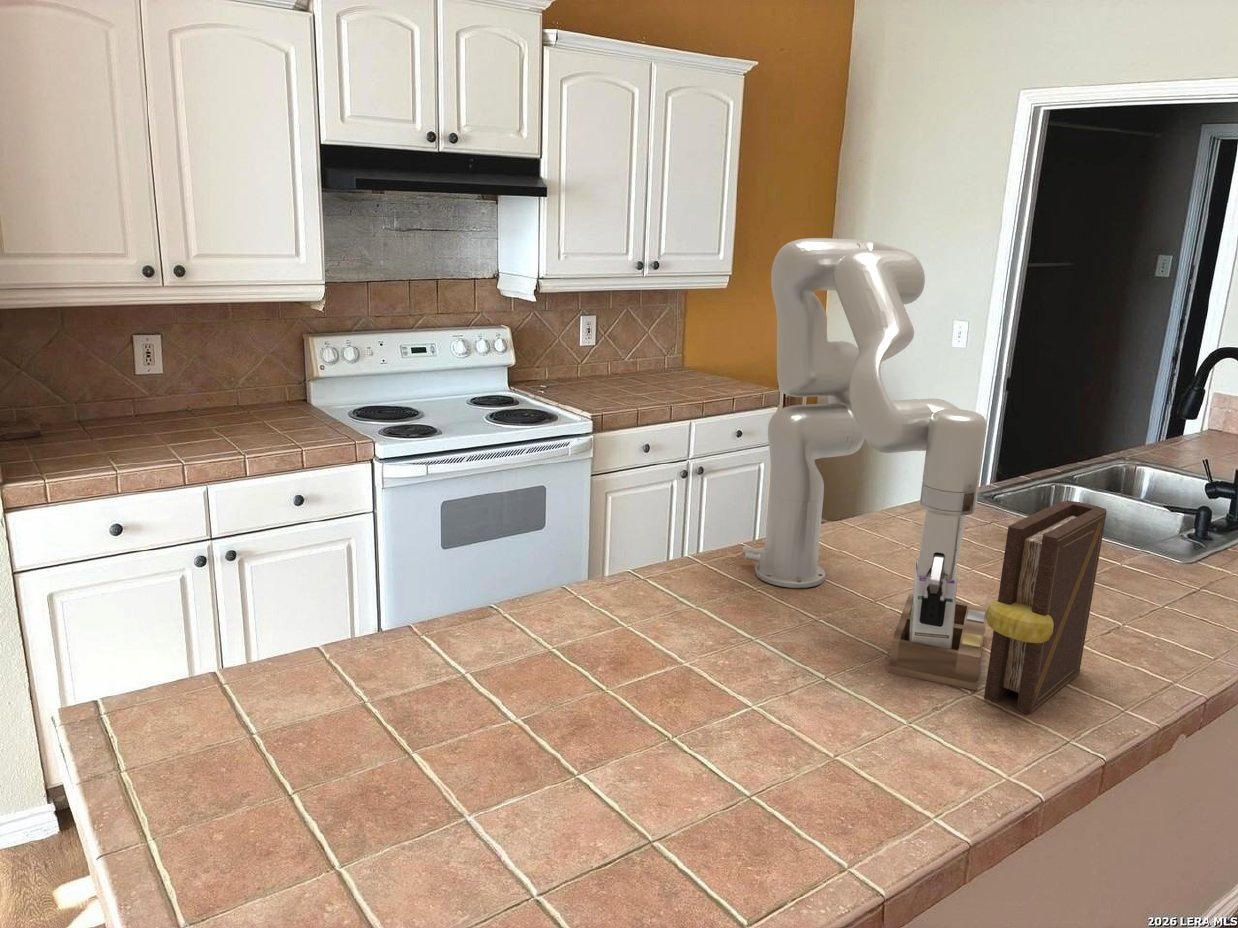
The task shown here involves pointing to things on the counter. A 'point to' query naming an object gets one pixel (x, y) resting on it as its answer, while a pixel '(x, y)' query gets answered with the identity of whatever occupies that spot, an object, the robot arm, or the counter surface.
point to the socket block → (942, 649)
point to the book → (1043, 603)
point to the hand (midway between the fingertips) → (934, 613)
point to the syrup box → (930, 632)
